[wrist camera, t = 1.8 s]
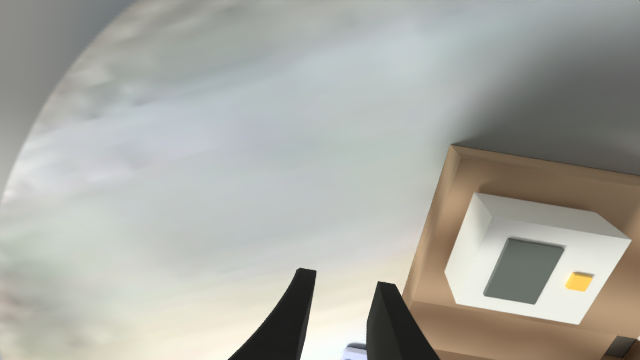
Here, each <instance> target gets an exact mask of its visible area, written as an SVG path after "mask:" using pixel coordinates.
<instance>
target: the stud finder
mask: <svg viewBox="0 0 640 360" xmlns="http://www.w3.org/2000/svg"><path fill="white" fill-rule="evenodd" d="M631 241H632V240H631V239H630V238H629V237H627V236H626V235H625V234H624V233H622V232H621V231H620V230H618V229H617V228H616V227H614V226H613V225H612V224H610V223H609V222H608V221H607V220H605V219H604V218H603V217H601V216H600V215H599V214H597V213H596V212H591V211H585V210H579V209H573V208H567V207H561V206H555V205H549V204H543V203H537V202H531V201H525V200H519V199H513V198H507V197H501V196H495V195H489V194H483V193H477V192H474V194H473V196H472V199H471V202H470V204H469V207H468V210H467V212H466V215H465V218H464V220H463V223H462V226H461V228H460V231H459V234H458V236H457V239H456V242H455V245H454V247H453V250H452V253H451V255H450V258H449V261H448V263H447V266H446V269H445V271H444V272H445V275H446V278H447V280H448V283H449V286H450V288H451V291H452V294H453V296H454V299H455V302H456V304H461V305H466V306H472V307H478V308H484V309H490V310H496V311H501V312H507V313H513V314H519V315H525V316H530V317H536V318H542V319H548V320H554V321H560V322H565V323H571V324H577V325H579V323H580V322H581V320H582V319H583V317H584V315H585V314H586V312H587V311H588V309H589V307H590V306H591V304H592V303H593V301H594V300H595V298H596V296H597V295H598V293H599V292H600V290H601V288H602V287H603V285H604V284H605V282H606V280H607V279H608V277H609V276H610V274H611V273H612V271H613V269H614V268H615V266H616V265H617V263H618V261H619V260H620V258H621V257H622V255H623V253H624V252H625V250H626V249H627V247H628V246H629V244H630V242H631Z"/></svg>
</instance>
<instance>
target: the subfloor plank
mask: <svg viewBox="0 0 640 360" xmlns="http://www.w3.org/2000/svg"><path fill="white" fill-rule="evenodd" d="M474 192H477V193H483V194H489V195H495V196H501V197H507V198H513V199H519V200H525V201H531V202H537V203H543V204H549V205H555V206H561V207H567V208H573V209H579V210H585V211H591V212H596V213H597V214H599V215H600V216H601V217H603V218H604V219H605V220H607V221H608V222H609V223H610V224H612V225H613V226H614V227H616V228H617V229H618V230H620V231H621V232H622V233H624V234H625V235H626V236H627V237H629V238H630V239H631V240H632V241H631V242H630V244H629V246H628V247H627V249H626V250H625V252H624V253H623V255H622V257H621V258H620V260H619V261H618V263H617V265H616V266H615V268H614V269H613V271H612V273H611V274H610V276H609V277H608V279H607V280H606V282H605V284H604V285H603V287H602V288H601V290H600V292H599V293H598V295H597V296H596V298H595V300H594V301H593V303H592V304H591V306H590V307H589V309H588V311H587V312H586V314H585V315H584V317H583V319H582V320H581V322H580V323H579V325H577V324H571V323H565V322H560V321H554V320H548V319H542V318H536V317H530V316H525V315H519V314H513V313H507V312H501V311H496V310H490V309H484V308H478V307H472V306H466V305H461V304H456V302H455V299H454V296H453V294H452V291H451V288H450V286H449V283H448V280H447V278H446V275H445V272H444V271H445V269H446V266H447V263H448V261H449V258H450V255H451V253H452V250H453V247H454V245H455V242H456V239H457V236H458V234H459V231H460V228H461V226H462V223H463V220H464V218H465V215H466V212H467V210H468V207H469V204H470V202H471V199H472V196H473V194H474ZM402 298H403V300H404V302H405V304H406V305H407V307H408V309H409V311H410V312H411V314H412V316H413V318H414V319H415V321H416V323H417V324H418V326H419V328H420V329H421V331H422V332H423V334H424V336H425V337H426V339H427V340H428V342H429V343H430V345H431V346H432V348H433V349H434V351H435V352H436V354H437V355H438V357H439V358H440V359H441V360H640V176H637V175H631V174H625V173H619V172H613V171H607V170H601V169H595V168H589V167H583V166H577V165H570V164H564V163H558V162H552V161H546V160H540V159H534V158H528V157H522V156H516V155H510V154H504V153H498V152H492V151H485V150H479V149H473V148H467V147H461V146H455V145H450V147H449V151H448V154H447V157H446V160H445V163H444V166H443V169H442V172H441V176H440V179H439V182H438V185H437V188H436V191H435V194H434V197H433V201H432V204H431V207H430V210H429V213H428V216H427V219H426V222H425V226H424V229H423V232H422V235H421V238H420V241H419V244H418V247H417V251H416V254H415V257H414V260H413V263H412V266H411V269H410V272H409V276H408V279H407V282H406V285H405V288H404V291H403V294H402ZM616 336H623V337H629V338H635V339H637V340H636V341H635V342H634V344H633V345H632V346H631V348H630V349H629V350H628V352H627V353H626V354H625V356H624V357H623V358H620V357H614V356H608V355H604V353H605V352H606V351H607V349H608V348H609V346H610V345H611V344H612V342H613V341H614V339H615V338H616Z"/></svg>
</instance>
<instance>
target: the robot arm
mask: <svg viewBox="0 0 640 360" xmlns="http://www.w3.org/2000/svg"><path fill="white" fill-rule="evenodd" d="M315 279H316V270H310V269H304V268H299V269H297V270H296V273H295V276H294V278H293V280H292V282H291V283H290V285H289V287H288V289H287V290H286V292H285V293H284V295H283V296H282V298H281V299H280V301H279V302H278V304H277V305H276V307H275V308H274V309H273V311H272V312H271V313H270V314H269V316H268V317H267V318H266V320H265V321H264V322H263V323H262V325H261V326H260V327H259V328H258V329H257V330H256V331H255V333H254V334H253V335H252V336H251V337H250V338H249V339H248V340H247V341H246V342H245V343H244V344H243V345H242V346H241V347H240V348H239V349H238V350H237V351H236V352H235V353H234V354H233V355H232V356H231V357H230V358H229V359H228V360H300V357H301V353H302V349H303V345H304V341H305V337H306V331H307V325H308V320H309V314H310V308H311V303H312V297H313V291H314V286H315ZM341 360H441V359H440V358H439V357H438V355H437V354H436V352H435V351H434V349H433V348H432V346H431V345H430V343H429V342H428V340H427V339H426V337H425V336H424V334H423V332H422V331H421V329H420V328H419V326H418V324H417V323H416V321H415V319H414V318H413V316H412V314H411V312H410V311H409V309H408V307H407V305H406V304H405V302H404V300H403V298H402V296H401V294H400V292H399V290H398V288H397V287H396V285H395V284H391V283H386V282H380V281H378V283H377V287H376V290H375V294H374V298H373V301H372V305H371V309H370V312H369V316H368V319H367V333H366V350H363V349H357V348H351V347H348V348H345V349H344V350H343V352H342V356H341Z"/></svg>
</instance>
